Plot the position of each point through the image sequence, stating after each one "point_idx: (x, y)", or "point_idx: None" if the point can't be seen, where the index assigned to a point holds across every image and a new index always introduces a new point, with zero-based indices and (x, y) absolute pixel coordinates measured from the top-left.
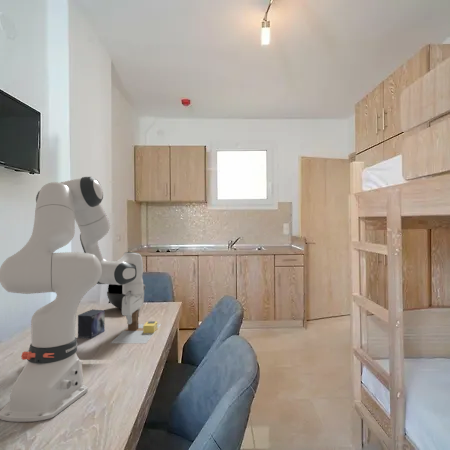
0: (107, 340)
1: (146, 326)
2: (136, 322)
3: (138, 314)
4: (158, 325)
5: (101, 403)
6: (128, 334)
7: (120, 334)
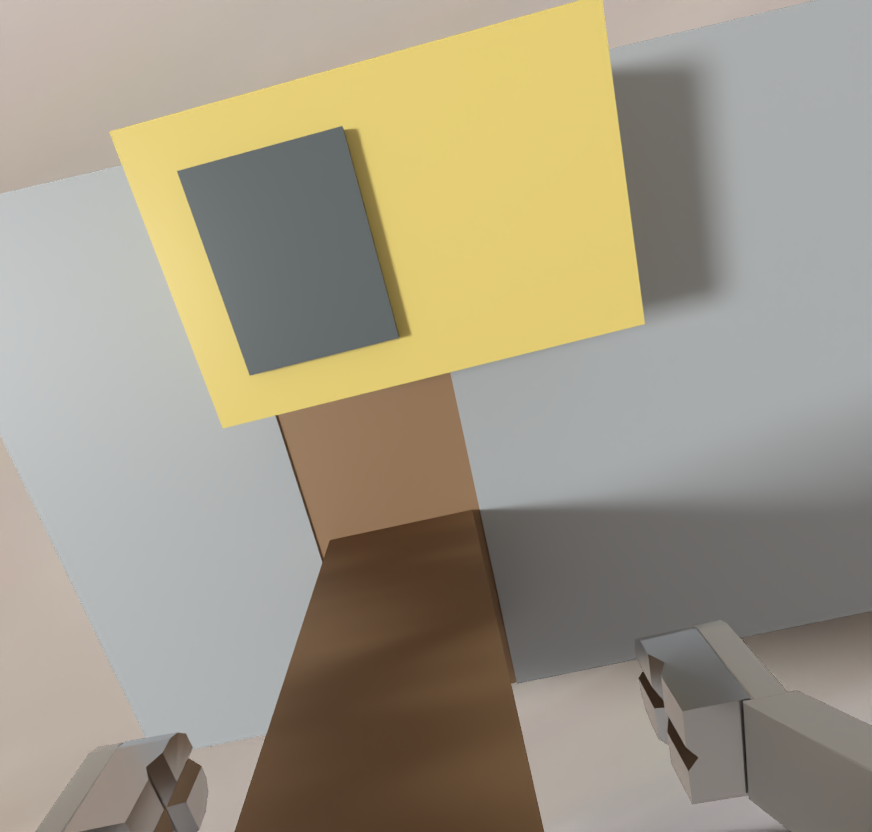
0: (820, 691)
1: (623, 237)
2: (450, 604)
3: (85, 814)
4: (13, 241)
5: None
6: (699, 522)
7: None
